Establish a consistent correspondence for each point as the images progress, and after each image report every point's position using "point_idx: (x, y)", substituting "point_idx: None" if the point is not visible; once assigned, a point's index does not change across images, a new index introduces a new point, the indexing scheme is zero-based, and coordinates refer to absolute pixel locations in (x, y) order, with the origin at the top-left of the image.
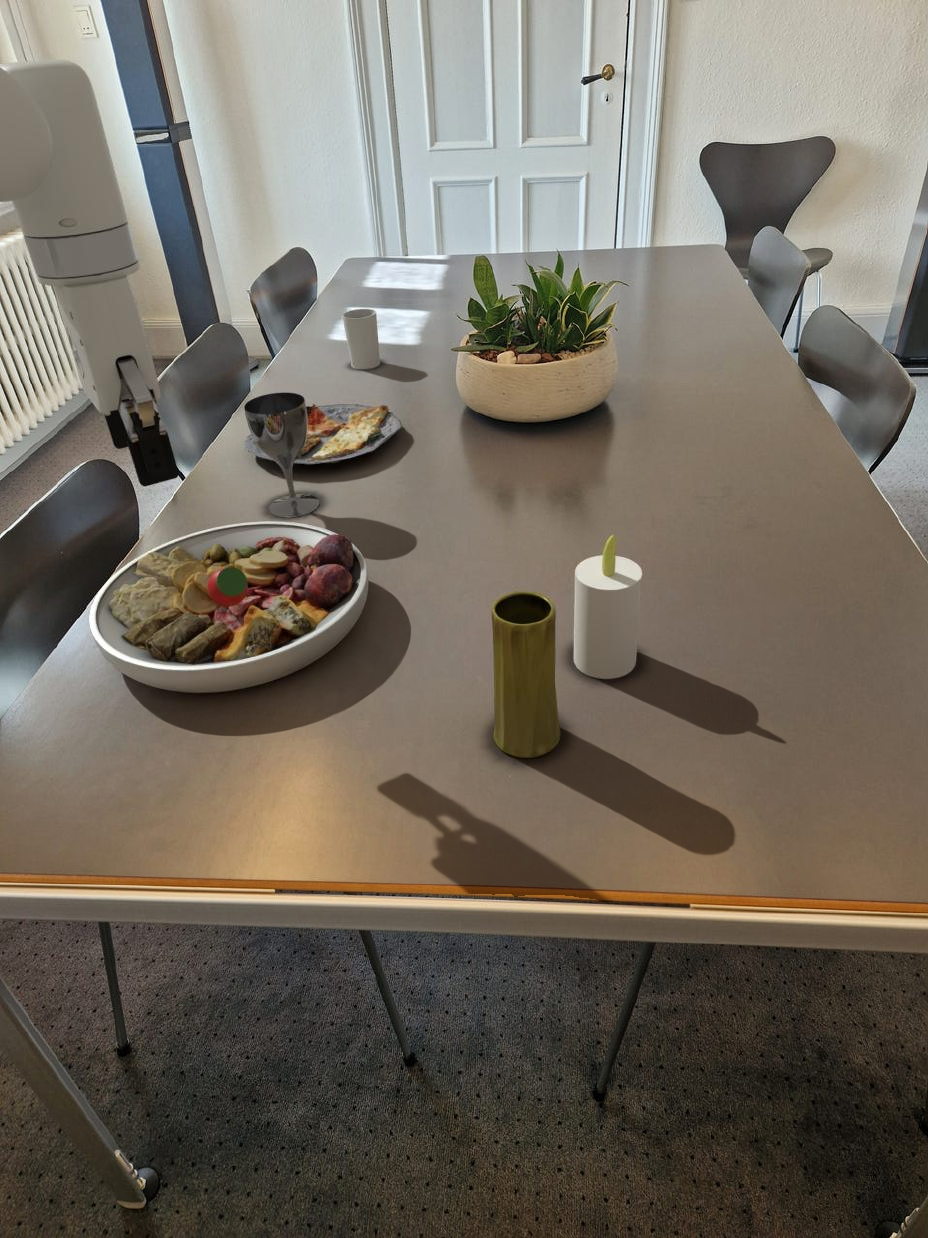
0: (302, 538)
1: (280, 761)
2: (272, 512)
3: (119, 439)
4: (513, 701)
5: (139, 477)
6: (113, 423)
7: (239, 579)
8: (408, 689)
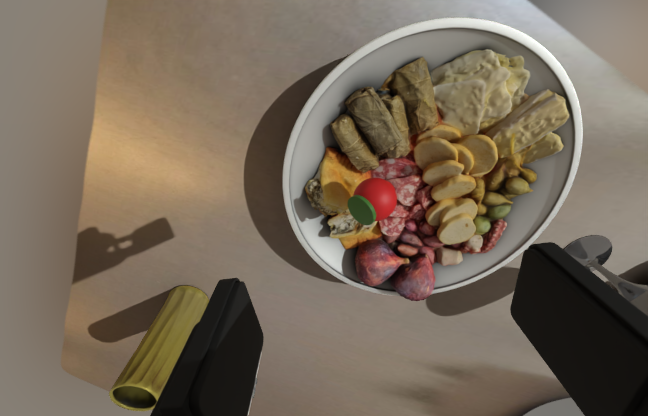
0: (478, 260)
1: (208, 166)
2: (589, 237)
3: (539, 273)
4: (152, 324)
5: (211, 296)
6: (585, 315)
7: (361, 218)
8: (258, 260)
